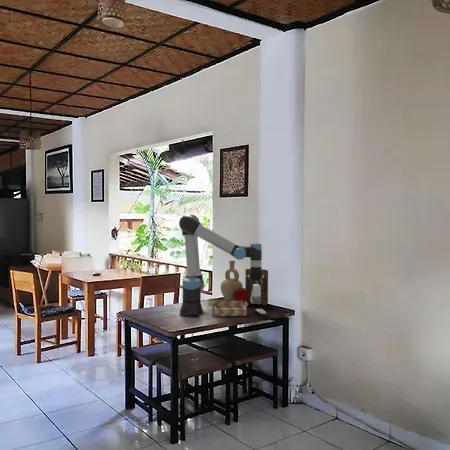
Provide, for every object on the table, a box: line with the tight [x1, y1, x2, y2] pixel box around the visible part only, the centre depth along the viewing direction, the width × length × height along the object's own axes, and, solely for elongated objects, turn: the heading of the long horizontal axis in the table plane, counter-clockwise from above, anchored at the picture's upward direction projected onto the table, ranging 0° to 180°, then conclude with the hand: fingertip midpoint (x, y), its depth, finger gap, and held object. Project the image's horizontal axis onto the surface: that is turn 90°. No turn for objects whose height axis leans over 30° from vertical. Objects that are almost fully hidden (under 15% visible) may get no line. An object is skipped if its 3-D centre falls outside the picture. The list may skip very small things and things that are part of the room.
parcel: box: [251, 284, 261, 304], centre depth 324 cm, size 5×7×12 cm
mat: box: [255, 308, 267, 315], centre depth 325 cm, size 12×12×1 cm
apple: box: [233, 287, 249, 305], centre depth 346 cm, size 12×12×13 cm
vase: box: [220, 260, 244, 301], centre depth 362 cm, size 17×17×30 cm
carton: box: [210, 300, 249, 317], centre depth 314 cm, size 23×13×8 cm, turn 99°
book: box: [244, 268, 269, 306], centre depth 352 cm, size 16×6×25 cm, turn 84°
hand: (255, 301), depth 324 cm, fingers closed on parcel, 5 cm apart
